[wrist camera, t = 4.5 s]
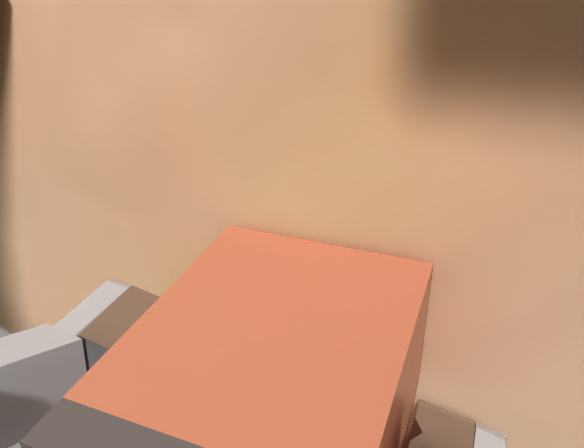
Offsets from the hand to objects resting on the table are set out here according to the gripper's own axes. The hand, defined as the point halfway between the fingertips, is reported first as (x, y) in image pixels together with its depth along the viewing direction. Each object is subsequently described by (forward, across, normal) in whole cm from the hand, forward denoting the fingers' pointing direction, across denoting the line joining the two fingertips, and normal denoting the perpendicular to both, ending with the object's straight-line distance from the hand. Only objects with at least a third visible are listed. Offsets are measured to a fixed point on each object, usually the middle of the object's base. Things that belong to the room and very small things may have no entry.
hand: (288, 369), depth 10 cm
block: (+2, 0, 0) cm, 2 cm away
